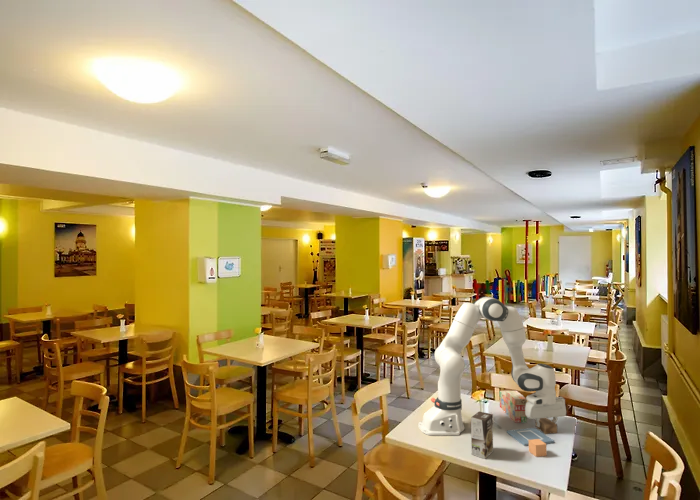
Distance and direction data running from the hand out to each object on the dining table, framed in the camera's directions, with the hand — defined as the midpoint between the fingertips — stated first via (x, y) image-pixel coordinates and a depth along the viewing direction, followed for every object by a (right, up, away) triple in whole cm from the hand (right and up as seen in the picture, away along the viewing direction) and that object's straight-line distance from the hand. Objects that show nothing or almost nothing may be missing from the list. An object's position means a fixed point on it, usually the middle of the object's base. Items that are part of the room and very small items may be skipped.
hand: (546, 426), depth 196 cm
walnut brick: (0, -2, 0) cm, 2 cm away
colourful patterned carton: (-9, -3, +19) cm, 21 cm away
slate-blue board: (-12, -2, -8) cm, 14 cm away
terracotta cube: (-15, -2, -23) cm, 28 cm away
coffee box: (-39, -2, -22) cm, 45 cm away
